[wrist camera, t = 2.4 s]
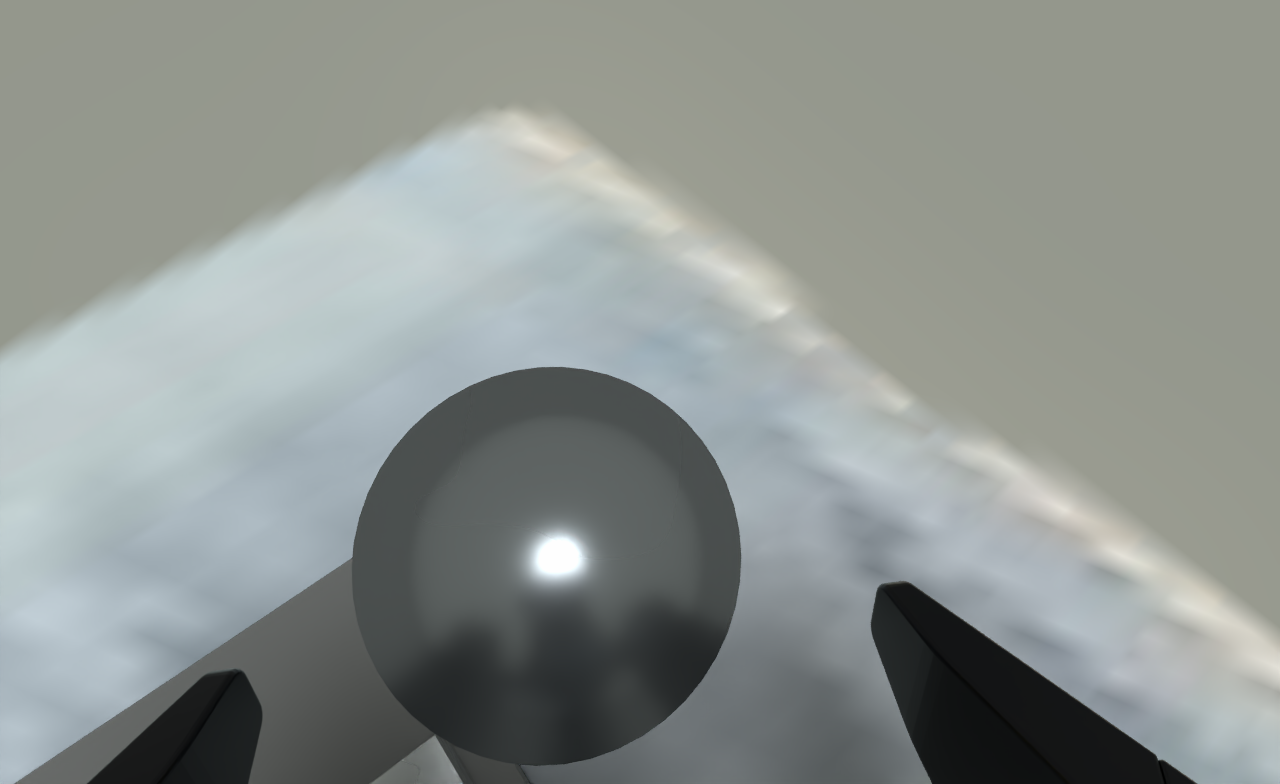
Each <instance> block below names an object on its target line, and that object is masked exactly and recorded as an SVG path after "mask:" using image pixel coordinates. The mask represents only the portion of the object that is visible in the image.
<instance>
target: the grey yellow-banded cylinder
mask: <svg viewBox="0 0 1280 784" xmlns="http://www.w3.org/2000/svg"><path fill="white" fill-rule="evenodd" d="M740 568H741V548H740V536H739V527H738V523H737V518H736V513H735V508H734V504H733V501H732V498H731V496H730V493H729V490H728V487H727V484H726V481H725V479H724V477H723V475H722V473H721V471H720V469H719V467H718V465H717V463H716V461H715V459H714V458H713V456H712V455H711V453H710V452H709V450H708V449H707V447H706V446H705V444H704V443H703V441H702V440H701V439H700V438H699V437H698V435H697V434H696V433H695V432H694V431H693V430H692V428H691V427H690V426H689V425H688V424H687V423H686V422H685V421H684V420H683V419H682V418H681V417H680V416H679V415H678V414H676V413H675V412H674V411H673V410H672V409H671V408H670V407H669V406H667V405H666V404H664V403H663V402H661V401H660V400H658V399H657V398H656V397H654V396H653V395H651V394H650V393H648V392H646V391H644V390H642V389H640V388H638V387H636V386H634V385H632V384H631V383H628V382H626V381H623V380H620V379H618V378H615V377H612V376H609V375H606V374H602V373H598V372H593V371H589V370H584V369H575V368H566V367H539V368H532V369H525V370H517V371H513V372H509V373H505V374H502V375H498V376H494V377H491V378H488V379H486V380H484V381H481V382H479V383H476V384H474V385H471V386H469V387H467V388H465V389H464V390H462V391H460V392H458V393H456V394H454V395H453V396H451V397H449V398H448V399H446V400H445V401H443V402H442V403H441V404H439V405H438V406H436V407H435V408H434V409H432V410H431V411H429V412H428V413H427V414H426V415H425V416H424V417H423V418H422V419H421V420H419V421H418V422H417V423H416V424H415V425H414V426H413V427H412V428H411V429H410V430H409V431H408V432H407V433H406V435H405V436H404V437H403V438H402V439H401V440H400V442H399V443H398V444H397V445H396V446H395V447H394V449H393V450H392V452H391V453H390V455H389V456H388V458H387V459H386V461H385V462H384V464H383V465H382V467H381V468H380V470H379V472H378V474H377V476H376V478H375V480H374V482H373V484H372V486H371V488H370V490H369V492H368V494H367V497H366V500H365V503H364V506H363V509H362V512H361V514H360V517H359V522H358V526H357V531H356V536H355V540H354V547H353V559H352V590H353V600H354V606H355V611H356V617H357V622H358V626H359V629H360V632H361V635H362V638H363V641H364V644H365V647H366V650H367V652H368V654H369V656H370V658H371V660H372V662H373V664H374V666H375V668H376V670H377V672H378V674H379V675H380V677H381V678H382V680H383V681H384V683H385V684H386V686H387V687H388V689H389V690H390V691H391V693H392V694H393V696H394V697H395V698H396V699H397V700H398V701H399V702H400V703H401V704H402V706H403V707H404V708H405V709H406V710H407V711H408V712H409V713H410V714H411V715H412V716H413V717H414V718H415V719H417V720H418V721H419V722H420V723H422V724H423V725H424V726H425V727H426V728H428V729H429V730H430V731H431V732H433V733H434V734H436V735H438V736H439V737H441V738H443V739H444V740H446V741H448V742H450V743H451V744H453V745H455V746H456V747H459V748H461V749H464V750H466V751H469V752H471V753H474V754H476V755H479V756H481V757H485V758H489V759H493V760H497V761H501V762H505V763H511V764H522V765H534V766H540V765H557V764H567V763H572V762H577V761H582V760H586V759H591V758H594V757H597V756H600V755H602V754H605V753H608V752H611V751H614V750H616V749H619V748H621V747H622V746H624V745H626V744H628V743H630V742H632V741H634V740H636V739H638V738H640V737H641V736H643V735H644V734H646V733H647V732H649V731H650V730H651V729H653V728H654V727H656V726H657V725H658V724H660V723H661V722H663V721H664V720H665V719H666V718H667V717H668V716H670V715H671V714H672V713H673V712H674V711H675V710H676V709H677V708H678V707H679V706H680V705H681V704H682V703H683V702H684V701H685V700H686V699H687V698H688V697H689V695H690V694H691V693H692V692H693V690H694V689H695V688H696V687H697V686H698V684H699V683H700V682H701V681H702V679H703V678H704V676H705V674H706V673H707V671H708V670H709V668H710V666H711V665H712V663H713V662H714V660H715V658H716V657H717V655H718V652H719V650H720V648H721V646H722V644H723V641H724V639H725V637H726V635H727V632H728V629H729V626H730V623H731V620H732V616H733V613H734V610H735V606H736V601H737V595H738V589H739V583H740Z"/></svg>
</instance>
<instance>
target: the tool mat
mask: <svg viewBox="0 0 1280 784" xmlns="http://www.w3.org/2000/svg"><path fill="white" fill-rule="evenodd" d="M352 559H353V558H351V559H350V560H348V561H347V562H345V563H344V564H342V565H341V566H339V567H338V568H336V569H335V570H334V571H332V572H331V573H329V574H328V575H326V576H325V577H323V578H322V579H320V580H319V581H317V582H316V583H314V584H313V585H311V586H310V587H308V588H307V589H305V590H304V591H302V592H301V593H299V594H298V595H296V596H295V597H293V598H292V599H290V600H289V601H287V602H286V603H284V604H283V605H281V606H280V607H278V608H277V609H275V610H274V611H272V612H271V613H269V614H268V615H266V616H265V617H263V618H262V619H260V620H259V621H257V622H256V623H254V624H253V625H251V626H250V627H248V628H247V629H245V630H244V631H242V632H241V633H239V634H238V635H236V636H235V637H233V638H232V639H230V640H229V641H227V642H226V643H224V644H223V645H221V646H220V647H218V648H217V649H215V650H214V651H212V652H211V653H209V654H208V655H206V656H205V657H203V658H202V659H200V660H199V661H197V662H196V663H194V664H193V665H191V666H190V667H188V668H187V669H185V670H184V671H182V672H181V673H179V674H178V675H176V676H175V677H173V678H172V679H170V680H169V681H167V682H166V683H164V684H163V685H161V686H160V687H158V688H157V689H155V690H154V691H152V692H151V693H149V694H148V695H146V696H145V697H143V698H142V699H140V700H139V701H137V702H136V703H134V704H133V705H131V706H130V707H128V708H127V709H125V710H124V711H122V712H121V713H119V714H118V715H116V716H115V717H113V718H112V719H110V720H109V721H107V722H106V723H104V724H103V725H101V726H100V727H98V728H97V729H95V730H94V731H92V732H91V733H89V734H88V735H86V736H85V737H83V738H82V739H80V740H79V741H77V742H76V743H75V744H73V745H72V746H70V747H69V748H67V749H66V750H64V751H63V752H61V753H60V754H58V755H57V756H55V757H54V758H52V759H51V760H49V761H48V762H46V763H45V764H43V765H42V766H40V767H39V768H37V769H36V770H34V771H33V772H31V773H30V774H28V775H27V776H25V777H24V778H22V779H21V780H19V781H18V782H16V783H15V784H86V783H88V782H89V781H90V780H91V779H92V778H93V777H94V776H95V775H96V774H97V773H98V772H99V771H100V770H102V769H103V768H104V767H105V766H106V765H107V764H108V763H109V762H110V761H111V760H112V759H113V758H114V757H116V756H117V755H118V754H119V753H120V752H121V751H122V750H123V749H124V748H125V747H126V746H127V745H128V744H130V743H131V742H132V741H133V740H134V739H135V738H136V737H137V736H138V735H139V734H140V733H141V732H142V731H144V730H145V729H146V728H147V727H148V726H149V725H150V724H151V723H152V722H153V721H154V720H155V719H156V718H158V717H159V716H160V715H161V714H162V713H163V712H164V711H165V710H166V709H167V708H168V707H169V706H170V705H172V704H173V703H174V702H175V701H176V700H177V699H178V698H179V697H180V696H181V695H182V694H183V693H184V692H186V691H187V690H188V689H189V688H190V687H191V686H192V685H193V684H194V683H195V682H196V681H197V680H198V679H200V678H201V677H202V676H203V675H205V674H206V673H209V672H212V671H217V670H225V669H233V668H239V669H241V670H242V671H244V672H245V674H246V676H247V678H248V680H249V682H250V684H251V686H252V688H253V689H254V691H255V693H256V695H257V697H258V699H259V701H260V703H261V706H262V711H263V719H262V726H261V730H260V735H259V739H258V744H257V748H256V753H255V757H254V761H253V766H252V770H251V775H250V779H249V784H369V783H371V782H372V781H373V780H375V779H376V778H377V777H379V776H380V775H381V774H383V773H384V772H385V771H387V770H388V769H389V768H391V767H392V766H393V765H395V764H396V763H397V762H399V761H400V760H401V759H403V758H404V757H405V756H407V755H408V754H409V753H410V752H412V751H413V750H414V749H416V748H417V747H418V746H420V745H421V744H422V743H424V742H425V741H426V740H428V739H429V738H430V737H432V736H433V735H434V733H433V732H431V731H430V730H429V729H428V728H426V727H425V726H424V725H423V724H422V723H420V722H419V721H418V720H417V719H415V718H414V717H413V716H412V715H411V714H410V713H409V712H408V711H407V710H406V709H405V708H404V707H403V706H402V704H401V703H400V702H399V701H398V700H397V699H396V698H395V697H394V696H393V694H392V693H391V691H390V690H389V689H388V687H387V686H386V684H385V683H384V681H383V680H382V678H381V677H380V675H379V674H378V672H377V670H376V668H375V666H374V664H373V662H372V660H371V658H370V656H369V654H368V652H367V650H366V647H365V644H364V641H363V638H362V635H361V632H360V629H359V626H358V622H357V617H356V611H355V606H354V600H353V590H352ZM452 746H453V747H454V749H455V751H456V752H457V754H458V756H459V757H460V759H461V761H462V762H463V764H464V766H465V767H466V769H467V771H468V773H469V774H470V776H471V778H472V779H473V781H474V783H475V784H530V783H529V781H528V779H527V778H526V776H525V774H524V773H523V771H522V769H521V768H520V766H519V765H518V764H511V763H505V762H501V761H497V760H493V759H489V758H485V757H481V756H479V755H476V754H474V753H471V752H469V751H466V750H464V749H461V748H459V747H456V746H455V745H453V744H452Z"/></svg>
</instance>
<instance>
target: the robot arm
mask: <svg viewBox="0 0 1280 784" xmlns="http://www.w3.org/2000/svg"><path fill="white" fill-rule="evenodd" d="M871 631H872V636H873V639H874V642H875V645H876V647H877V650H878V653H879V656H880V658H881V661H882V664H883V666H884V669H885V672H886V674H887V677H888V680H889V683H890V685H891V688H892V691H893V693H894V696H895V699H896V701H897V704H898V707H899V710H900V712H901V715H902V718H903V720H904V723H905V725H906V728H907V731H908V733H909V736H910V738H911V740H912V743H913V745H914V747H915V749H916V751H917V753H918V756H919V758H920V760H921V762H922V764H923V766H924V768H925V770H926V772H927V774H928V776H929V778H930V780H931V782H932V784H1197V783H1196V782H1194V781H1193V780H1191V779H1190V778H1189V777H1187V776H1186V775H1184V774H1183V773H1181V772H1180V771H1179V770H1177V769H1176V768H1174V767H1173V766H1171V765H1170V764H1169V763H1167V762H1166V761H1164V760H1158V758H1157V756H1156V755H1155V754H1154V753H1152V752H1151V751H1150V750H1148V749H1147V748H1145V747H1144V746H1142V745H1141V744H1140V743H1138V742H1137V741H1135V740H1134V739H1132V738H1131V737H1130V736H1128V735H1127V734H1125V733H1124V732H1122V731H1121V730H1120V729H1118V728H1117V727H1115V726H1114V725H1112V724H1111V723H1110V722H1108V721H1107V720H1105V719H1104V718H1102V717H1101V716H1100V715H1098V714H1097V713H1095V712H1094V711H1092V710H1091V709H1090V708H1088V707H1087V706H1085V705H1084V704H1082V703H1081V702H1080V701H1078V700H1077V699H1075V698H1074V697H1073V696H1071V695H1070V694H1068V693H1067V692H1065V691H1064V690H1063V689H1061V688H1060V687H1058V686H1057V685H1055V684H1054V683H1053V682H1051V681H1050V680H1048V679H1047V678H1045V677H1044V676H1043V675H1041V674H1040V673H1038V672H1037V671H1035V670H1034V669H1033V668H1031V667H1030V666H1028V665H1027V664H1025V663H1024V662H1023V661H1021V660H1020V659H1018V658H1017V657H1015V656H1014V655H1013V654H1011V653H1010V652H1008V651H1007V650H1005V649H1004V648H1003V647H1001V646H1000V645H998V644H997V643H995V642H994V641H993V640H991V639H990V638H988V637H987V636H985V635H984V634H983V633H981V632H980V631H978V630H977V629H975V628H974V627H973V626H971V625H970V624H968V623H967V622H965V621H964V620H963V619H961V618H960V617H958V616H957V615H955V614H954V613H953V612H951V611H950V610H948V609H947V608H945V607H944V606H943V605H941V604H940V603H938V602H937V601H935V600H934V599H933V598H931V597H930V596H928V595H927V594H925V593H924V592H923V591H921V590H920V589H918V588H917V587H915V586H914V585H912V584H911V583H909V582H906V581H899V582H891V583H884V584H881V585H880V586H879V587H878V589H877V592H876V597H875V603H874V608H873V613H872V619H871ZM262 719H263V711H262V706H261V703H260V701H259V699H258V697H257V695H256V693H255V691H254V689H253V688H252V686H251V684H250V682H249V680H248V678H247V676H246V674H245V672H244V671H242V670H241V669H239V668H233V669H225V670H217V671H212V672H209V673H206V674H205V675H203V676H202V677H201V678H200V679H198V680H197V681H196V682H195V683H194V684H193V685H192V686H191V687H190V688H189V689H188V690H187V691H186V692H184V693H183V694H182V695H181V696H180V697H179V698H178V699H177V700H176V701H175V702H174V703H173V704H172V705H170V706H169V707H168V708H167V709H166V710H165V711H164V712H163V713H162V714H161V715H160V716H159V717H158V718H156V719H155V720H154V721H153V722H152V723H151V724H150V725H149V726H148V727H147V728H146V729H145V730H144V731H142V732H141V733H140V734H139V735H138V736H137V737H136V738H135V739H134V740H133V741H132V742H131V743H130V744H128V745H127V746H126V747H125V748H124V749H123V750H122V751H121V752H120V753H119V754H118V755H117V756H116V757H114V758H113V759H112V760H111V761H110V762H109V763H108V764H107V765H106V766H105V767H104V768H103V769H102V770H100V771H99V772H98V773H97V774H96V775H95V776H94V777H93V778H92V779H91V780H90V781H89V782H88V783H86V784H249V779H250V775H251V770H252V766H253V761H254V757H255V753H256V748H257V744H258V739H259V735H260V730H261V726H262Z"/></svg>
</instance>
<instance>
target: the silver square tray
mask: <svg viewBox="0 0 1280 784" xmlns="http://www.w3.org/2000/svg"><path fill="white" fill-rule="evenodd" d="M369 784H475V783H474V781H473V779H472V778H471V776H470V774H469V773H468V771H467V769H466V767H465V766H464V764H463V762H462V761H461V759H460V757H459V756H458V754H457V752H456V751H455V749H454V747H453V746H452V744H451V743H450V742H448V741H446V740H444V739H443V738H441V737H439V736H438V735H436V734H434V735H433V736H432V737H430V738H429V739H428V740H426V741H425V742H424V743H422V744H421V745H420V746H418V747H417V748H416V749H414V750H413V751H412V752H410V753H409V754H408V755H407V756H405V757H404V758H403V759H401V760H400V761H399V762H397V763H396V764H395V765H393V766H392V767H391V768H389V769H388V770H387V771H385V772H384V773H383V774H381V775H380V776H379V777H377V778H376V779H375V780H373V781H372V782H371V783H369Z"/></svg>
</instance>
